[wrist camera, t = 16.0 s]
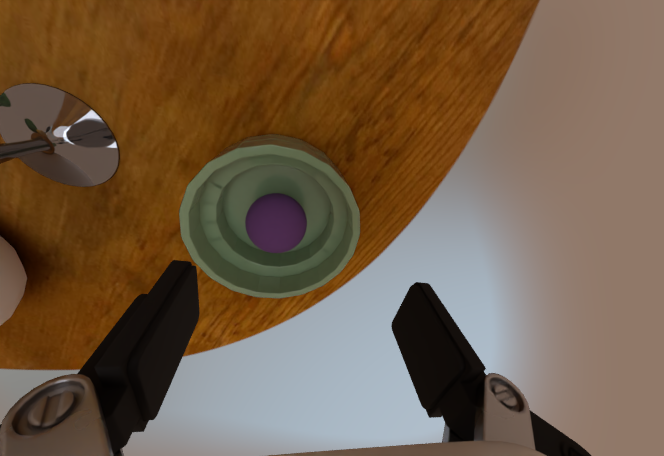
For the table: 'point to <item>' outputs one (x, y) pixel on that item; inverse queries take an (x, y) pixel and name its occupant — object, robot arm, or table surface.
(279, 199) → the purple ball
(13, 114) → the silver goblet
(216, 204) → the green bowl
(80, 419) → the robot arm
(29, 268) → the table surface
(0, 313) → the white vase
